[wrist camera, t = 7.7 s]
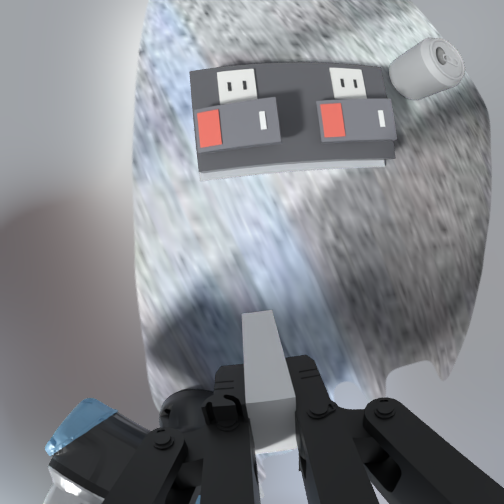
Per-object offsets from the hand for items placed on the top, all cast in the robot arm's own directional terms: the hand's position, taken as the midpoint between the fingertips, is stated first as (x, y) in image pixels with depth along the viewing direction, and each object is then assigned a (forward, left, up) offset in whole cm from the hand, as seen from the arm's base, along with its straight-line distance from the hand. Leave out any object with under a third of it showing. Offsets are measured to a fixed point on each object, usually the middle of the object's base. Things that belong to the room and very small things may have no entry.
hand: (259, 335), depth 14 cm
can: (+23, -28, -27) cm, 45 cm away
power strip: (+16, -8, -26) cm, 32 cm away
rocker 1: (+14, -1, -20) cm, 25 cm away
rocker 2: (+14, -15, -20) cm, 29 cm away
